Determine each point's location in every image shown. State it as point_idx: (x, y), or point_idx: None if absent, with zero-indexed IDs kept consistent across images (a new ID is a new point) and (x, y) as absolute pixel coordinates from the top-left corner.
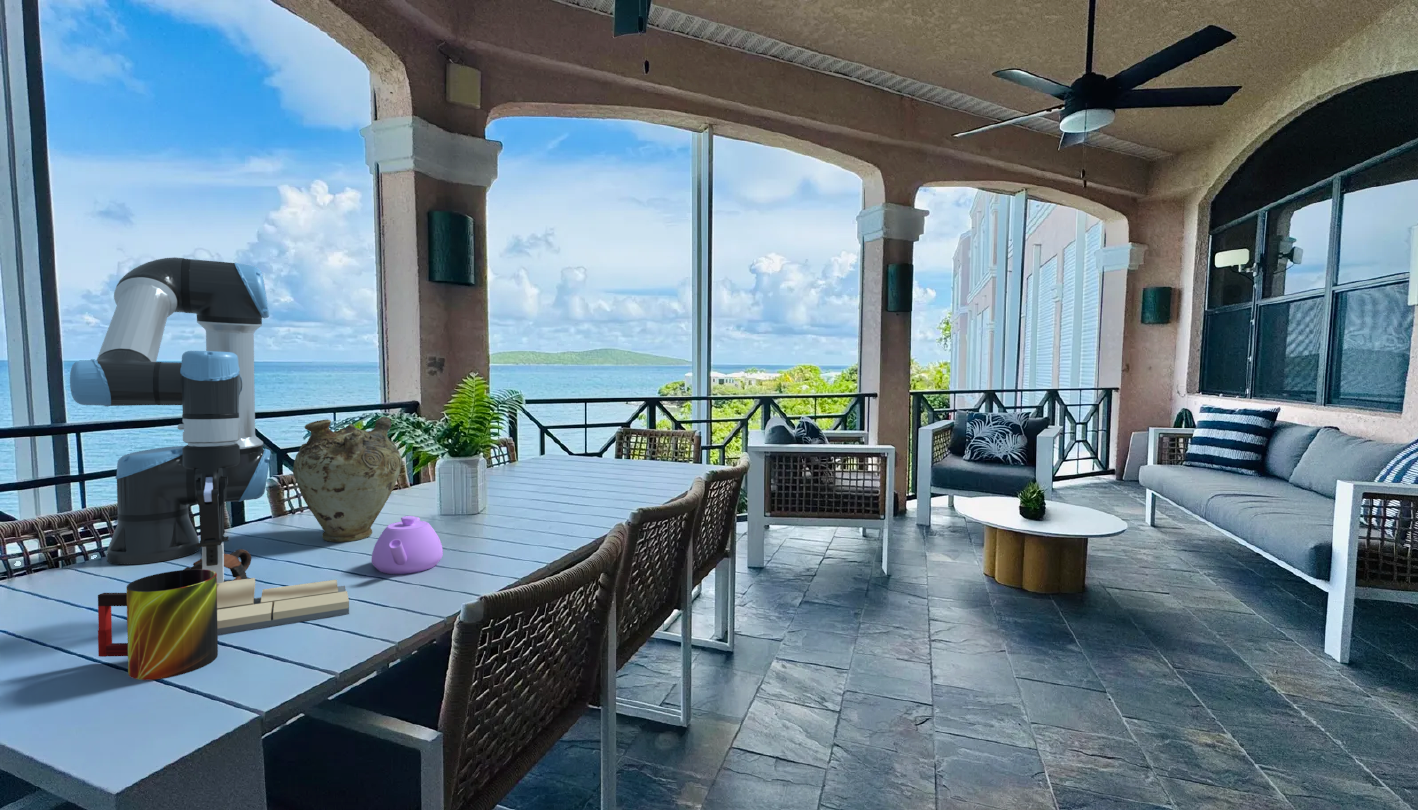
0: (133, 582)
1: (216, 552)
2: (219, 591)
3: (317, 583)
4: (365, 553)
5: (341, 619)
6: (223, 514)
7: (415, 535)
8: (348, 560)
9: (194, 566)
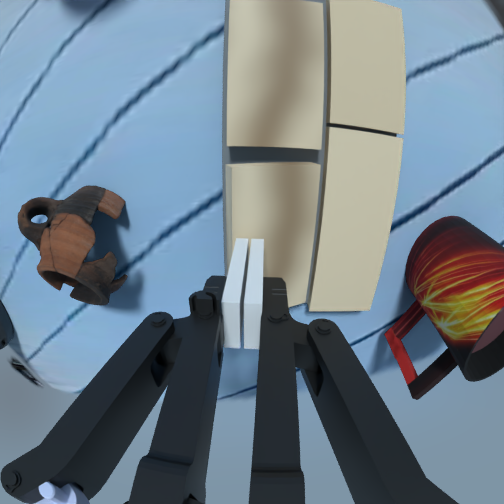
0: (476, 379)
1: (287, 303)
2: (265, 236)
3: (240, 31)
4: (12, 30)
5: (412, 35)
6: (129, 378)
7: None
8: (29, 41)
9: (104, 296)
